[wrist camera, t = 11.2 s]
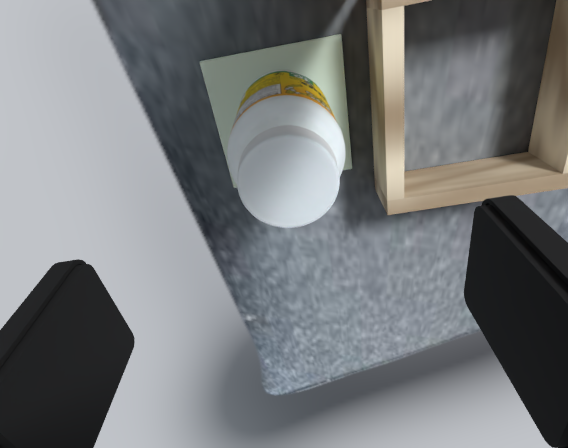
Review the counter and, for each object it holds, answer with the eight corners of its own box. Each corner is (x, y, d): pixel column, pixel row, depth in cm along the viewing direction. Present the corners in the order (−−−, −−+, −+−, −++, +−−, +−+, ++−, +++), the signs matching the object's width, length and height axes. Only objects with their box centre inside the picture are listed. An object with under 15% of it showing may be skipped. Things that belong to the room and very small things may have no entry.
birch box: (365, -15, 19) (381, -16, 16) (588, -60, 18) (647, -71, 15) (375, 189, 25) (387, 215, 22) (540, 163, 24) (576, 186, 22)
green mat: (200, 60, 21) (199, 62, 21) (340, 33, 20) (341, 34, 20) (234, 185, 25) (234, 188, 25) (351, 166, 24) (352, 168, 24)
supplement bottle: (222, 99, 22) (188, 161, 14) (301, 48, 20) (316, 83, 12) (270, 171, 24) (265, 261, 16) (343, 131, 23) (379, 205, 15)
